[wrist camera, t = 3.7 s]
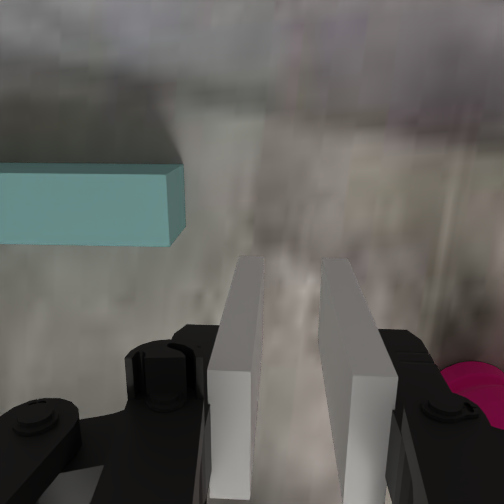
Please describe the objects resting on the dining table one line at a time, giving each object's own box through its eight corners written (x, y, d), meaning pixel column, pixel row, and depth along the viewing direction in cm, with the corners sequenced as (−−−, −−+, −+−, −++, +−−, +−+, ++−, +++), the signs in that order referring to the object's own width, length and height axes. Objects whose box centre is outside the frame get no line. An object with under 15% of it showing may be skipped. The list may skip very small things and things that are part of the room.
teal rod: (184, 163, 30) (165, 174, 26) (186, 225, 32) (169, 246, 27) (-90, 161, 31) (-157, 171, 27) (-78, 221, 33) (-140, 241, 28)
